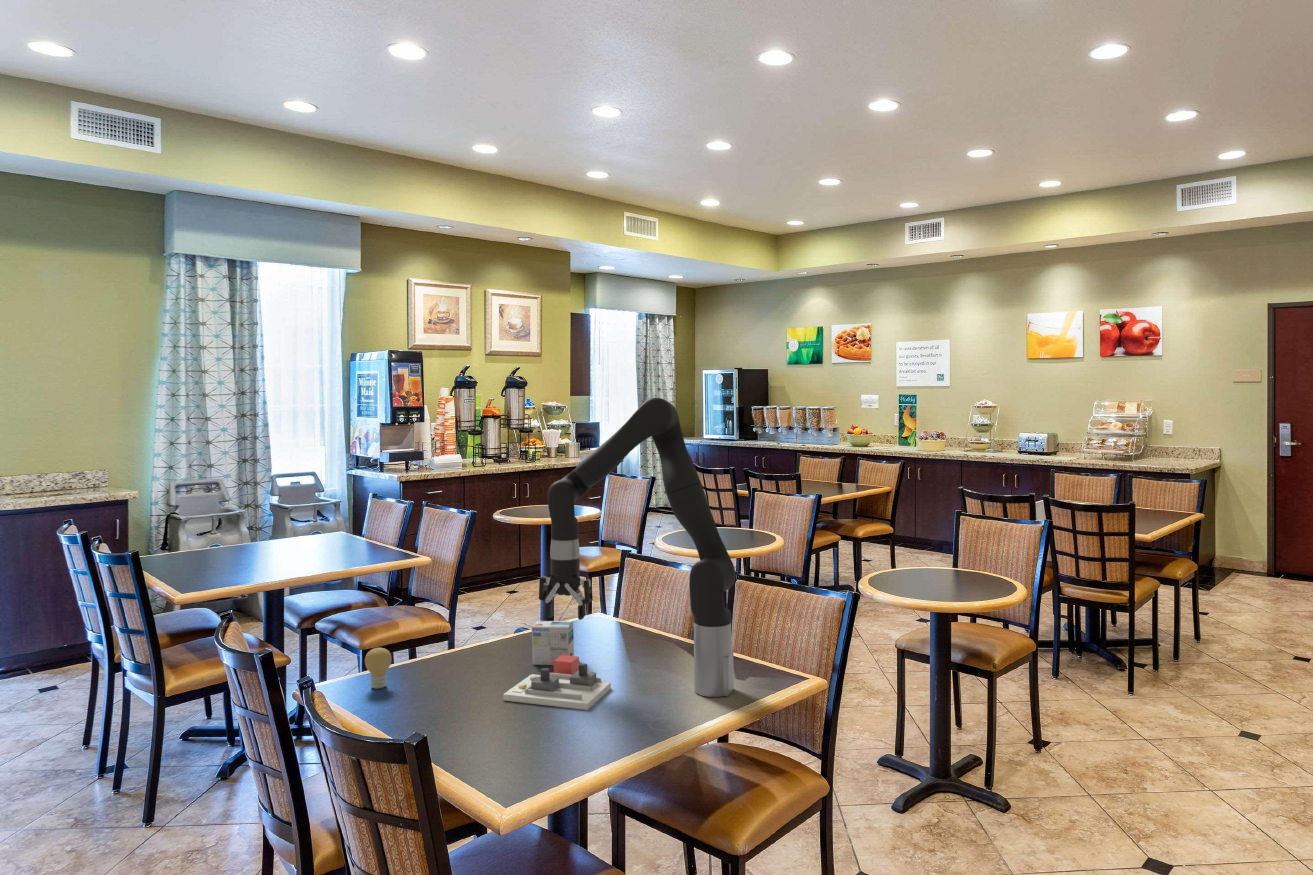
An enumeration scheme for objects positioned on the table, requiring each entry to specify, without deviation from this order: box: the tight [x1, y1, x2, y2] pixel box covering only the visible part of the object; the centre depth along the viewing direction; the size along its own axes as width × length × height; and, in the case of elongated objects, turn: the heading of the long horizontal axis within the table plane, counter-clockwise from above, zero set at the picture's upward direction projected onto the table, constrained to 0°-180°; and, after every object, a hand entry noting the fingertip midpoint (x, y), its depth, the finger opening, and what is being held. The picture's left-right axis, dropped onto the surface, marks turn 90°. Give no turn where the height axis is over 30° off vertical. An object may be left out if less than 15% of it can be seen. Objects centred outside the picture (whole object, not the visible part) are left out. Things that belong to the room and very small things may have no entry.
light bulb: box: [364, 647, 393, 690], centre depth 204 cm, size 6×6×10 cm
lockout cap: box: [553, 655, 580, 675], centre depth 210 cm, size 5×5×5 cm
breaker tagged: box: [531, 667, 559, 692], centre depth 197 cm, size 5×5×5 cm
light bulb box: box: [531, 620, 575, 666], centre depth 223 cm, size 11×7×11 cm, turn 84°
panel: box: [502, 662, 612, 711], centre depth 198 cm, size 22×15×7 cm
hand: (565, 617), depth 210 cm, fingers open, 8 cm apart
